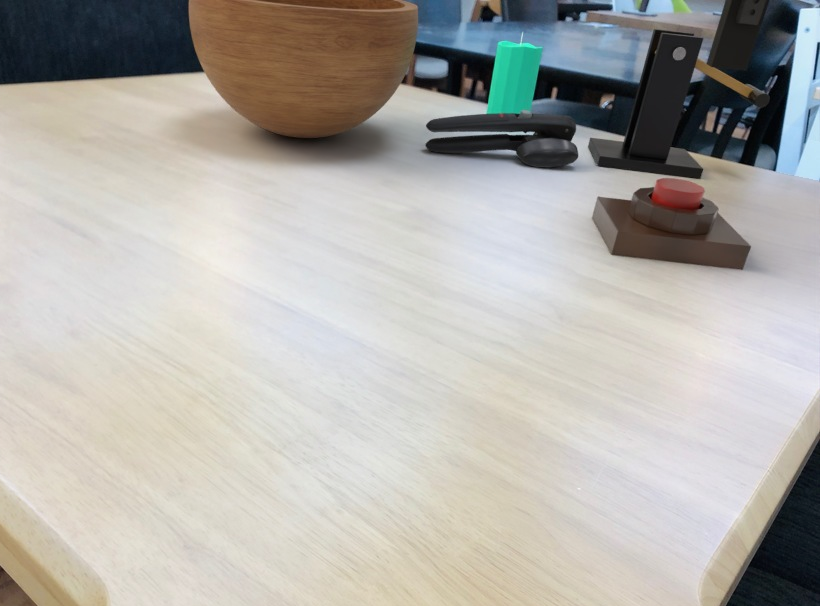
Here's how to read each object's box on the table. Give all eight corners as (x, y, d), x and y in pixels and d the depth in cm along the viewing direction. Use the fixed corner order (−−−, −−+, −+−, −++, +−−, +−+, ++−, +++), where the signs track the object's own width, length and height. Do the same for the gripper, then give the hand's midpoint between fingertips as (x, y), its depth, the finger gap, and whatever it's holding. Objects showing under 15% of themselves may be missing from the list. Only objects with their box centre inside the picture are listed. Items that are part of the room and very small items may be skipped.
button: (690, 199, 63) (696, 180, 62) (704, 215, 60) (711, 195, 59) (645, 194, 63) (651, 175, 63) (657, 209, 60) (663, 189, 59)
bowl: (421, 127, 93) (437, 1, 85) (376, 180, 72) (392, 19, 64) (244, 100, 97) (244, -22, 90) (152, 143, 76) (142, -12, 68)
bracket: (682, 158, 91) (720, 34, 83) (700, 178, 83) (745, 44, 76) (587, 146, 92) (617, 23, 84) (597, 166, 84) (631, 31, 77)
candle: (531, 132, 96) (550, 37, 90) (487, 128, 96) (503, 32, 90) (523, 121, 101) (541, 31, 95) (482, 117, 101) (497, 26, 95)
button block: (707, 231, 67) (721, 191, 65) (742, 270, 59) (759, 226, 57) (591, 218, 68) (602, 177, 66) (611, 255, 60) (623, 210, 58)
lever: (744, 102, 85) (757, 84, 84) (760, 113, 80) (775, 94, 79) (650, 50, 84) (663, 31, 83) (661, 58, 79) (675, 37, 78)
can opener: (565, 156, 86) (576, 109, 84) (578, 173, 80) (590, 123, 78) (421, 142, 86) (427, 94, 83) (423, 158, 80) (429, 107, 77)
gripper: (754, -299, 51) (660, 51, 63) (832, -365, 40) (699, 76, 51) (863, -292, 50) (747, 59, 62) (973, -357, 39) (806, 87, 51)
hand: (726, 67), depth 57 cm, fingers closed
